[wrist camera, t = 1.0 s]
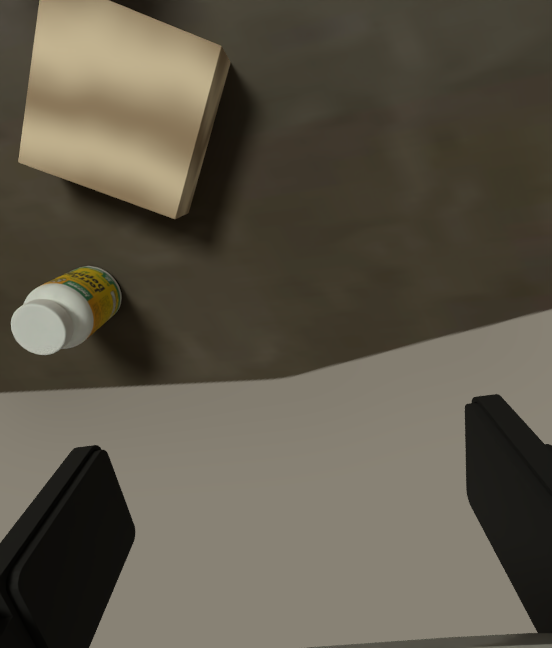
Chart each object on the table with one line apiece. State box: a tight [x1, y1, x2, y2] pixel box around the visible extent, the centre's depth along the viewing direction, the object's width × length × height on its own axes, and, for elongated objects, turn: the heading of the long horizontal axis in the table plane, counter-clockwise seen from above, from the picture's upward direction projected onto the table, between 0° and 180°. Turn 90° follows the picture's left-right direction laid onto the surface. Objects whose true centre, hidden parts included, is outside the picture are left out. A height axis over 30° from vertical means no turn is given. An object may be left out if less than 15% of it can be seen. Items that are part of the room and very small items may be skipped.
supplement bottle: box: [11, 266, 122, 355], centre depth 35 cm, size 5×5×10 cm
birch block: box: [18, 0, 231, 219], centre depth 32 cm, size 12×12×5 cm
